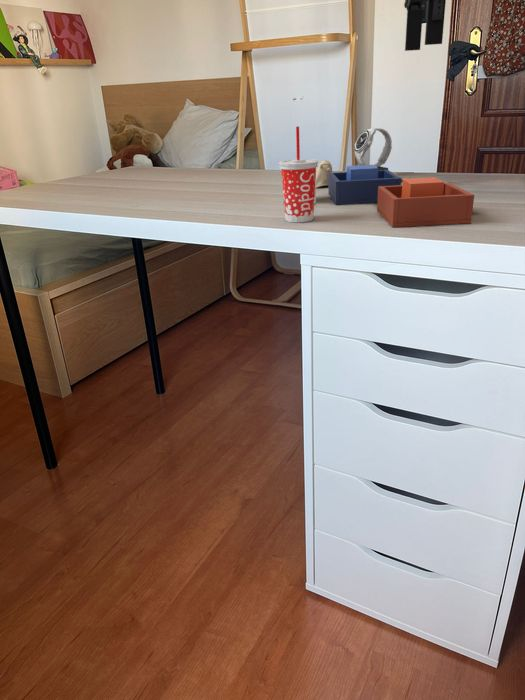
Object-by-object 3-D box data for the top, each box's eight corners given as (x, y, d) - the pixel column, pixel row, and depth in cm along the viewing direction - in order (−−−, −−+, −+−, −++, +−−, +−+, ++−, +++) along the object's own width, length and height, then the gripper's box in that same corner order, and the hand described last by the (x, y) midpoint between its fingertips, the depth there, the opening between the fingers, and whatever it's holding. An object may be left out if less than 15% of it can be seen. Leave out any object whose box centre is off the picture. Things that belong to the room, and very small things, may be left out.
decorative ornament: (331, 182, 118) (331, 157, 116) (333, 188, 111) (333, 162, 108) (313, 183, 119) (313, 158, 116) (313, 189, 111) (313, 163, 109)
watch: (349, 182, 117) (350, 129, 112) (381, 179, 119) (383, 126, 114) (361, 186, 112) (363, 130, 107) (394, 182, 114) (397, 127, 109)
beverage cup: (284, 224, 83) (281, 129, 77) (277, 217, 88) (274, 126, 82) (322, 221, 84) (322, 126, 78) (312, 214, 89) (312, 124, 83)
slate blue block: (371, 191, 102) (372, 164, 100) (377, 196, 98) (378, 167, 95) (346, 192, 102) (346, 165, 100) (350, 197, 98) (350, 169, 96)
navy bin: (386, 190, 105) (387, 169, 104) (400, 201, 95) (401, 178, 93) (328, 194, 106) (328, 172, 104) (335, 205, 95) (335, 181, 93)
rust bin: (446, 207, 88) (448, 182, 86) (471, 223, 78) (474, 194, 76) (376, 211, 88) (378, 186, 87) (392, 227, 78) (393, 199, 76)
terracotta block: (431, 209, 85) (434, 177, 83) (441, 215, 80) (444, 181, 78) (400, 211, 85) (402, 178, 83) (408, 217, 81) (410, 183, 78)
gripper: (392, -79, 97) (386, 53, 106) (431, -131, 74) (419, 42, 83) (433, -82, 96) (424, 51, 106) (485, -135, 74) (467, 39, 83)
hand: (422, 47), depth 95 cm, fingers open, 13 cm apart
